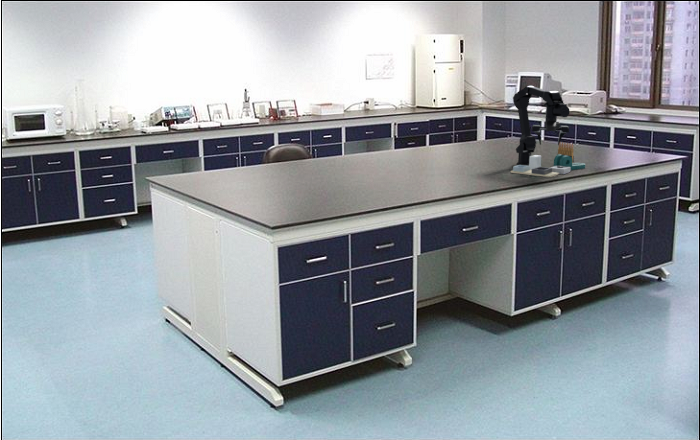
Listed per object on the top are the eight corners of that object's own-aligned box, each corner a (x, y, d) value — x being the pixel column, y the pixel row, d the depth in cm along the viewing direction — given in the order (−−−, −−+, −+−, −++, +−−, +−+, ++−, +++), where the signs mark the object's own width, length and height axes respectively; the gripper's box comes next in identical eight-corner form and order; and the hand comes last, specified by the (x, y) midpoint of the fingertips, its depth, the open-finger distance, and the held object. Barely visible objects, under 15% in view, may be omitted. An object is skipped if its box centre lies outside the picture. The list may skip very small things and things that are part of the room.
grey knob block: (549, 172, 373) (549, 166, 373) (555, 170, 379) (556, 164, 379) (564, 174, 369) (564, 168, 368) (570, 171, 374) (570, 166, 374)
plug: (528, 169, 384) (529, 156, 382) (534, 167, 389) (535, 154, 387) (535, 170, 381) (536, 157, 380) (541, 168, 386) (542, 155, 385)
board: (510, 172, 374) (510, 171, 374) (519, 169, 382) (519, 168, 382) (550, 177, 361) (550, 175, 361) (558, 174, 368) (558, 172, 368)
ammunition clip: (573, 164, 396) (575, 143, 393) (571, 165, 395) (572, 143, 392) (558, 162, 405) (559, 141, 402) (556, 162, 404) (557, 141, 401)
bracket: (562, 171, 378) (563, 156, 376) (553, 169, 384) (554, 154, 382) (587, 168, 386) (588, 153, 384) (578, 166, 391) (579, 152, 389)
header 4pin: (531, 173, 368) (531, 169, 367) (539, 170, 374) (539, 166, 374) (544, 174, 363) (544, 170, 363) (551, 172, 370) (552, 168, 369)
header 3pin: (512, 170, 375) (513, 166, 375) (519, 168, 380) (519, 164, 380) (523, 172, 371) (523, 167, 371) (529, 170, 377) (529, 165, 376)
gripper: (533, 116, 372) (531, 146, 376) (570, 117, 368) (568, 147, 372) (532, 114, 382) (531, 143, 386) (569, 115, 378) (567, 144, 382)
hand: (549, 144), depth 381 cm, fingers open, 9 cm apart
